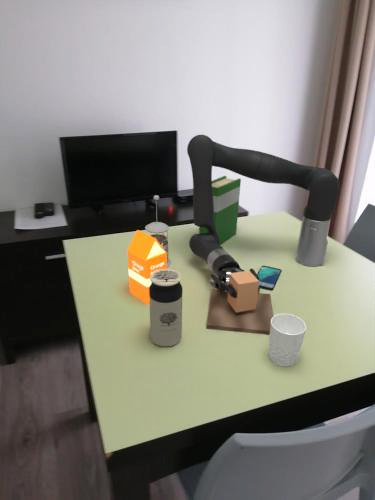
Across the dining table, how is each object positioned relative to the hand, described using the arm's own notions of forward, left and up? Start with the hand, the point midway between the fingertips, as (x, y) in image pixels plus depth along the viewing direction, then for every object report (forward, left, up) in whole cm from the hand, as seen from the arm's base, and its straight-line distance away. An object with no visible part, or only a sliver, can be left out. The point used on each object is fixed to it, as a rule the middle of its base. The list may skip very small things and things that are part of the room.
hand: (246, 293), depth 98 cm
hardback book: (+10, -52, -8) cm, 53 cm away
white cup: (-9, +15, -8) cm, 19 cm away
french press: (+30, -28, -8) cm, 42 cm away
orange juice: (+29, -7, -8) cm, 31 cm away
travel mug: (+20, +12, -8) cm, 25 cm away
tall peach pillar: (+1, -2, -5) cm, 6 cm away
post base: (+1, -2, -8) cm, 8 cm away
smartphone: (-8, -23, -8) cm, 26 cm away
